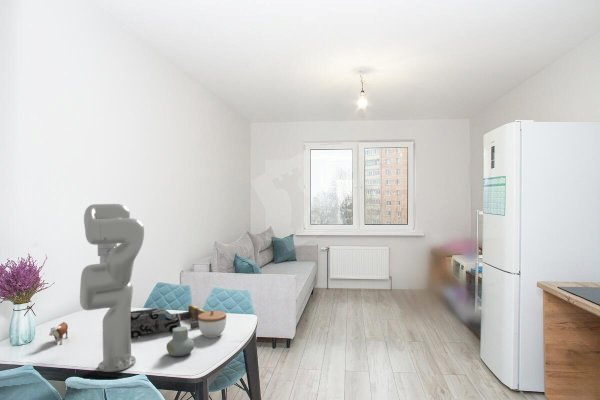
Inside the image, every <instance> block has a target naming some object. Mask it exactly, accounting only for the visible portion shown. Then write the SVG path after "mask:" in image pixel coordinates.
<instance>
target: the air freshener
mask: <svg viewBox="0 0 600 400" xmlns="http://www.w3.org/2000/svg"><path fill="white" fill-rule="evenodd" d="M188 333H189V329H188V327H187V326H181V327H176V328H174V329H173V330H172V333H171V334H172V335H171V336H172V339H170V340H169V341H168V342H167V344H166V350H167V353H168V354H169V355H170V356H173V357H183V356H186V355H188V354H190V353H191V352H192V351H193V350H194V348H195V343H194V341H193V339H192V338H191V337H189V334H188Z"/></svg>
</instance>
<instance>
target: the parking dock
mask: <svg viewBox="0 0 600 400" xmlns="http://www.w3.org/2000/svg"><path fill="white" fill-rule="evenodd" d="M204 312H207V311H206V310H204V309H202V308H200V307H198V306H195V305H193V304H189V305H188V311H183V312H179V313H178V314H179V315H180V321H183V320H185V319H191V318H192V319H191V320H193V319H194V320H193V321H190V329H191V330H195V329H199V324H198V315H199V314H201V313H204Z"/></svg>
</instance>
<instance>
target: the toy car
mask: <svg viewBox="0 0 600 400" xmlns="http://www.w3.org/2000/svg"><path fill="white" fill-rule="evenodd" d="M176 327H182V323H181V320H180V315H179V313H170V312H169V311H168V310H166V308H163V307H161V308H147V309H140V310H131V339H135V338H136V339H137V338H140V337H141V336H142V335H143V334H149V333H157V332H158V333H159V332H164V331H169V333H170V334H172V330H173V329H174V328H176Z"/></svg>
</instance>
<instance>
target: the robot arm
mask: <svg viewBox="0 0 600 400" xmlns="http://www.w3.org/2000/svg"><path fill="white" fill-rule="evenodd" d="M83 224H84V226H83V227H84V231H85V233H84V234H85V239H86V240H87V242H88V243H89V244H90V245H92V246H93V245H94V246H97V256H98V257H99V263H95V264H93V263H92V264H89V265H86V266H85V267H84V268H83V269H82V271H81V277H80V287H79V289H80V290H79V303H80V306H81V308H82V309H83V310H84V311H94V310H100V309H108V310H107V311H106V313H105V314H104V316H103V318H102V361H100V362H99V363H98V370H99V371H100V372H106V373H113V372H115V373H116V372H120V371H124V370H126V369H129V368H131V367H132V366H134V365H135V364H136V361H137V358H136V357H135V356H133V355H132V337H131V312H132V310H131V309H132V301H133V294H134V289H133V284H132V282H131V279H132V275H133V269H134V263H135V260H136V258H137V256H138V255H139V253H140V251H141V248H142V246H143V242H144V238H145V237H144V236H145V227H144V224H143V223H142V222H141V221H140V220H138V219H137V218H131V212H130V210H129V208H128V207H127V206H125V205H123V204H120V203H99V204H98V203H97V204H90V205H89V206H87V208H85V210H84V214H83ZM118 244H119V245H118Z"/></svg>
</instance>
